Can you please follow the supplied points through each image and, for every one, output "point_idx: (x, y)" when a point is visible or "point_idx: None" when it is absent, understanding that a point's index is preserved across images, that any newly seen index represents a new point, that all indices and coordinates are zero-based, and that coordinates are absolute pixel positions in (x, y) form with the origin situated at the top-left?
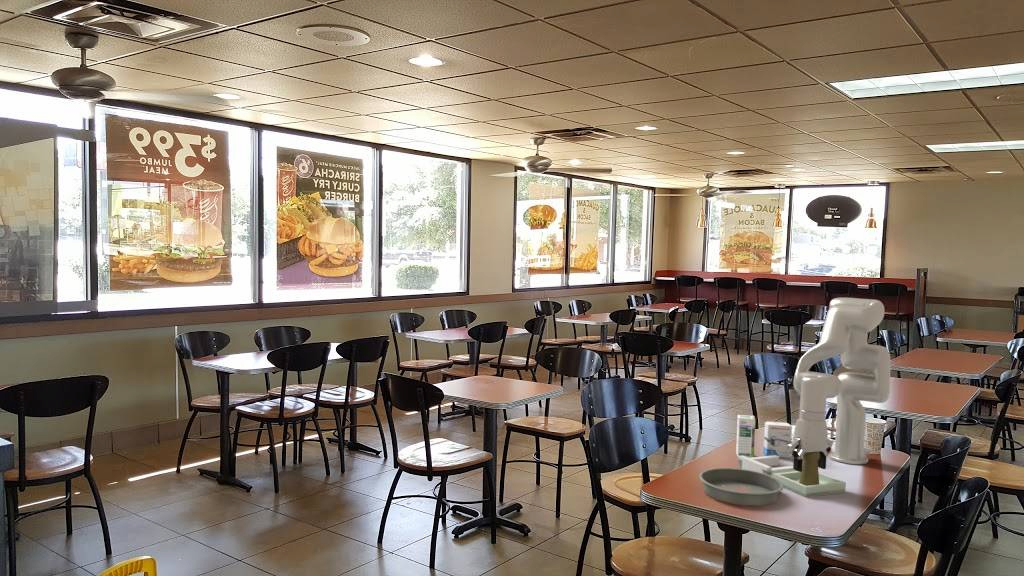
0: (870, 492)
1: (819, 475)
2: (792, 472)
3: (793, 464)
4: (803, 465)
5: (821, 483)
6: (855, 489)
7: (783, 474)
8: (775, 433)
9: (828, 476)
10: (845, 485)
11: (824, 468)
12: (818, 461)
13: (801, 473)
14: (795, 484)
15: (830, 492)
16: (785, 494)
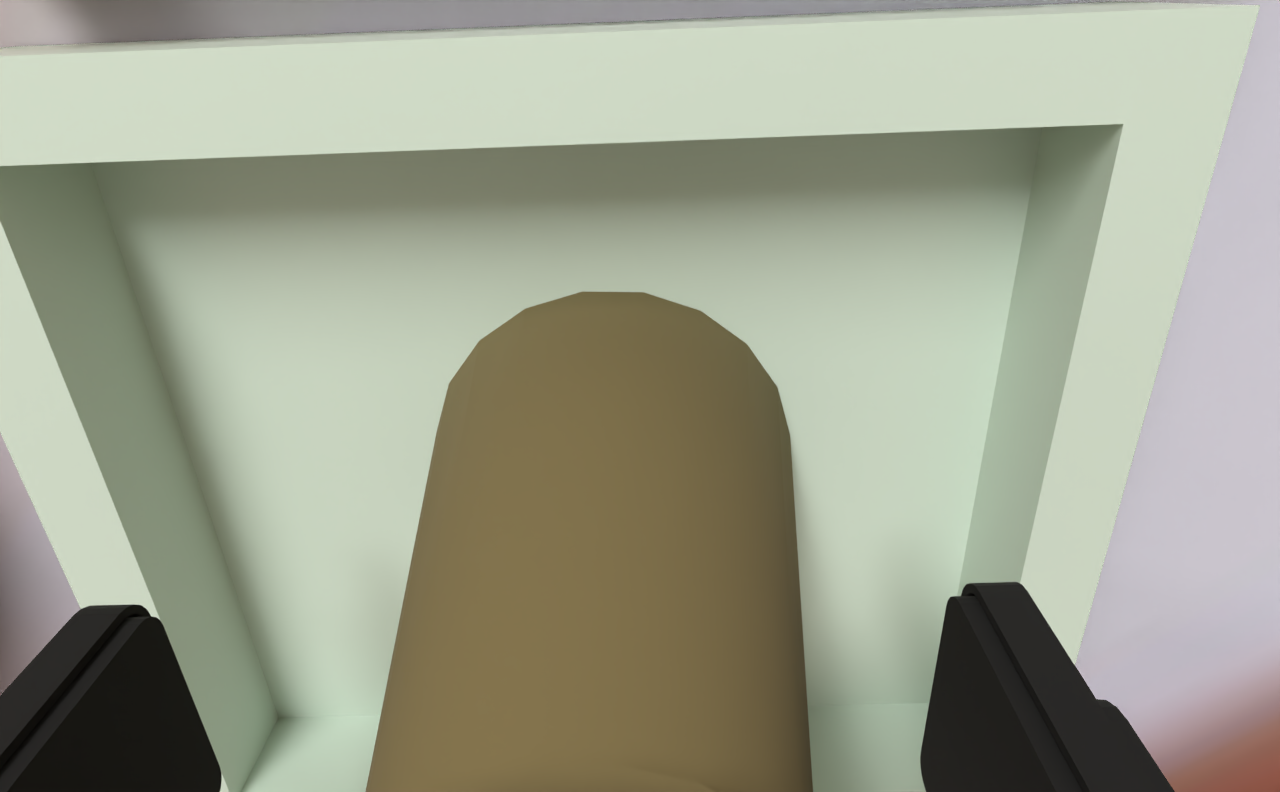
0: (1277, 777)
1: (1047, 361)
2: (456, 121)
3: (1, 701)
4: (383, 707)
5: (848, 497)
6: (1222, 665)
7: (138, 160)
8: None
9: (1063, 562)
10: None
11: (935, 788)
12: (1006, 762)
13: (422, 518)
14: None
15: None
16: (12, 589)
